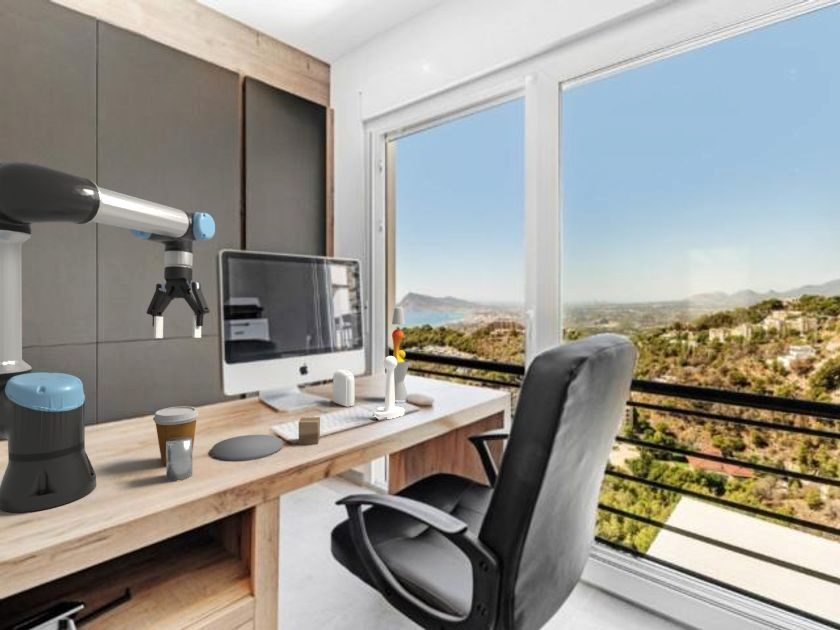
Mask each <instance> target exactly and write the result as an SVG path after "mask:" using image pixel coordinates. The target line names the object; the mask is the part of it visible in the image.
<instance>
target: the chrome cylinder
mask: <svg viewBox="0 0 840 630" xmlns="http://www.w3.org/2000/svg"><path fill="white" fill-rule="evenodd" d="M165 466H166V467H165V468H166V471H165V472H166V480H167V481H169V480H170V482H178V481H177V480H181V481H184V480H183V479H185V480H188V479H190V478H192V477H193V451H192V438H191V437H176V438H172V439H169V440H167V441H166V465H165ZM189 477H190V478H189ZM187 478H188V479H187Z"/></svg>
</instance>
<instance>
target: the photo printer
mask: <svg viewBox="0 0 840 630" xmlns="http://www.w3.org/2000/svg"><path fill="white" fill-rule="evenodd" d="M355 382H356V380H355V375H354V374H353V373H352V372H350V371H349V370H347V369H339V370H338V369H337V370H336V371H335V372H334V373H333V378H332V385H333V386H332V400H333V403H334V404H338V405H340V406H344V407H346V408H348V407H349V408H350V406H351V407H353V406H355V403H356V402H355V401H356V400H355V393H356V392H355V389H356V388H355Z"/></svg>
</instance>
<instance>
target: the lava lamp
mask: <svg viewBox="0 0 840 630" xmlns="http://www.w3.org/2000/svg"><path fill="white" fill-rule="evenodd" d="M404 315H405V314H404V308H403V307H401V306H400V307H394V309H393V315H392V321H391V325H397V326H398V325H400V326H401V325H406V322H405V316H404ZM404 335H405V334H404V332H403V330H401V329H395V330H393V332H392V333H391V338H392V343H393V354H392V356H393V357H395V358H396V360H397V366H396V368H395V369H394V388H395V400H404V399H405V398H406V396H408V397H409V395H408V393H407V389H406V386H405V382H404V381H405V377H406V375H407V372H408V369H409V365H410V363H411V360H408V359H405V357H406V352H405V350H403V349H400V345H401V342H402V341H403V339H404Z"/></svg>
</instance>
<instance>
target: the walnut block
mask: <svg viewBox="0 0 840 630" xmlns="http://www.w3.org/2000/svg"><path fill="white" fill-rule="evenodd" d="M320 439H321V416H301V417H300V419H299V421H298V444H299V443H300V444H299V445H319V442H320Z"/></svg>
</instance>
